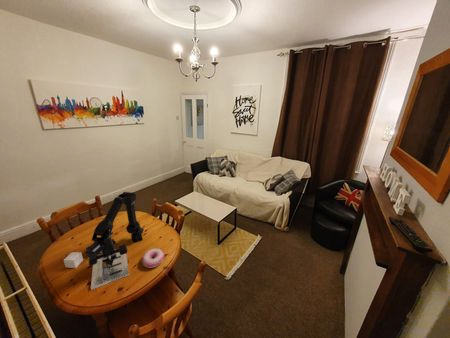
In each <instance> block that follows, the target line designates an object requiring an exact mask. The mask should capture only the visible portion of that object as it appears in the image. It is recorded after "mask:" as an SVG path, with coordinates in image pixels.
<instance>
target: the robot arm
mask: <svg viewBox="0 0 450 338" xmlns="http://www.w3.org/2000/svg"><path fill="white" fill-rule="evenodd" d="M136 201H137V195H136V193H135V192H132V191H131V192H130V191H124V192H121V193H120V194H118V195H117V196H116V197H114V199H113V202H112V204H111V206H110V207H109V209H108V211H107V213H106V215H105V216H104V218H103V220H101V221H99V222H98V223H97V225H96V227H95V228H94V231H93V235H92V238H91V242H93V243H92V244H90V245H89V247H88V246H87V247H88V249H87V250H86V249H85V256H86V257H87V258H88V265H89V266H90V267H91V266H93V265H94V264H97V262H98V261H97V260H98V259H101V258H102V262H105V263H108V264H109V265H111V266H112V264H113V261H114V259H115V258H116V257H117V256H116V254H117V253H120V255H123V254H126V253H127V254H128V248H127V246H128V245H127V244H125V243H124V244H121V245H119V246H118V248H117V249H116V248H114V245H113V241H112V239H113V238H112V235H113V234H114V232H113V229H114V221H115V219H116V217H117V215H118V213H119V211H120V210H121V208H122V206H123V205H124V206H125V210H126V214H127V221H128V223H127V226H126V228H125V229H126V232H127V233H128V234H130V238H131V242H132V244H135V243H138V242H141V241H143V240H144V239H143V234H144V233H143V232H144V229H145V228H144V227H141V225H140V222H139V221H137V215H136V214H137V213H136V207H135V203H136ZM101 251H102V252H101ZM100 252H101V253H100ZM109 256H111V260H110V258H109Z"/></svg>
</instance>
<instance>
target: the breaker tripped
mask: <svg viewBox="0 0 450 338" xmlns="http://www.w3.org/2000/svg"><path fill="white" fill-rule="evenodd" d="M105 268H109V264H108V263H105V262H103V263H102V269H103V270H104V269H105Z"/></svg>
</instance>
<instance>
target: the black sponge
mask: <svg viewBox="0 0 450 338" xmlns="http://www.w3.org/2000/svg"><path fill="white" fill-rule="evenodd" d="M111 239H112V241H113V245H114V249H116V248H115V247H116V246H117V245H116V241H115V239H113V238H111ZM89 246H90V245H89ZM89 246H87V247H86V248H85V251H86V250H87V249H88V247H89ZM99 254H102V251H101V252H100V253H99Z"/></svg>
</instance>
